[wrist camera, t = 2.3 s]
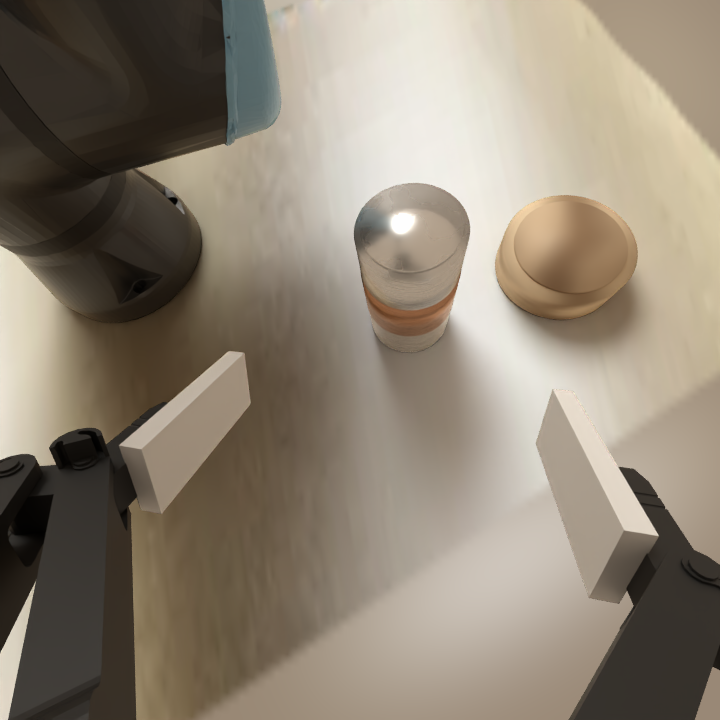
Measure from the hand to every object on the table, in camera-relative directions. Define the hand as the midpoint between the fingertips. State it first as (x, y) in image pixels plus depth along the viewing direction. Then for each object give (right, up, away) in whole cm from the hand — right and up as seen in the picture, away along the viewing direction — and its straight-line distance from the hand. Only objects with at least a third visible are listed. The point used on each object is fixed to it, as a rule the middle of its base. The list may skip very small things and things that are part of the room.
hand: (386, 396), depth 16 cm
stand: (+16, +10, +16) cm, 25 cm away
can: (+3, +5, +17) cm, 18 cm away
